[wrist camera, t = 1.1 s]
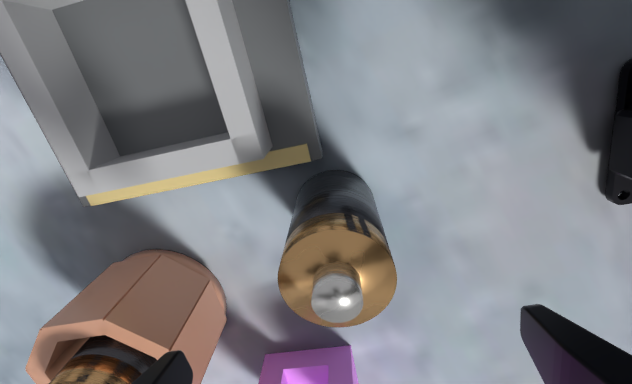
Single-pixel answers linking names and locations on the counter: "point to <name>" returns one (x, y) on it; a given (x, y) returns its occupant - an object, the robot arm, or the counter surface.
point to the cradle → (161, 90)
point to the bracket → (310, 367)
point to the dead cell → (104, 363)
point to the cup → (139, 313)
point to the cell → (336, 253)
